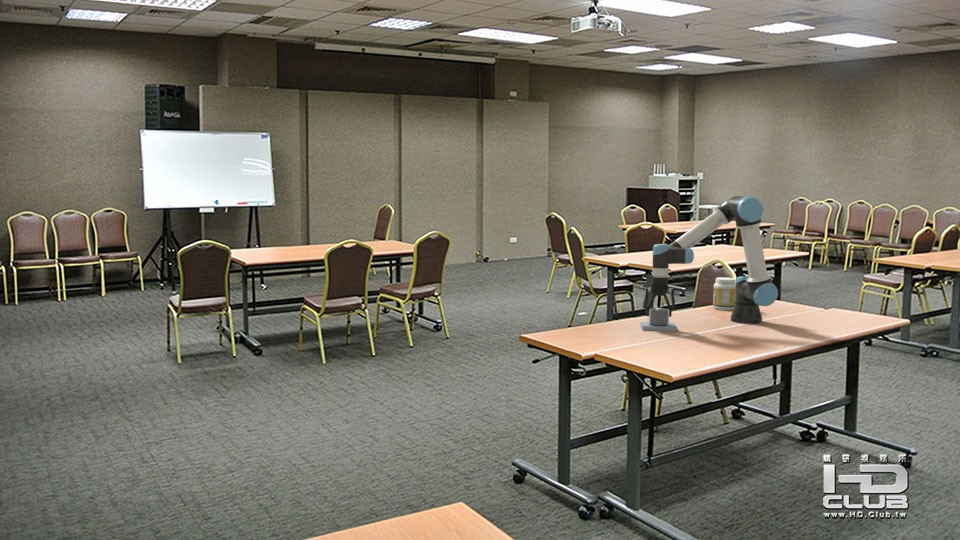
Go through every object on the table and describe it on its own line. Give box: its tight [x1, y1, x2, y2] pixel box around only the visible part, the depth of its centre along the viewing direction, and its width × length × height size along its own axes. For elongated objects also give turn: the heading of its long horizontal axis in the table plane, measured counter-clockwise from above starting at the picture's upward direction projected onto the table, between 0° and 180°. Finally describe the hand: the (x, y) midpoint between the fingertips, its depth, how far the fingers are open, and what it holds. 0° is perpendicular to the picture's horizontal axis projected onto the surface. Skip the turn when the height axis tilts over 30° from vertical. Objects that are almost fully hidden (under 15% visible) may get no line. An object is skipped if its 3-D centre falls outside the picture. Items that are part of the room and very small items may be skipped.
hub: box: [650, 307, 669, 325], centre depth 383 cm, size 8×8×7 cm
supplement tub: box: [712, 276, 736, 311], centre depth 440 cm, size 12×12×17 cm
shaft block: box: [640, 307, 678, 332], centre depth 384 cm, size 16×10×10 cm, turn 84°
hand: (658, 323), depth 384 cm, fingers closed on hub, 8 cm apart
